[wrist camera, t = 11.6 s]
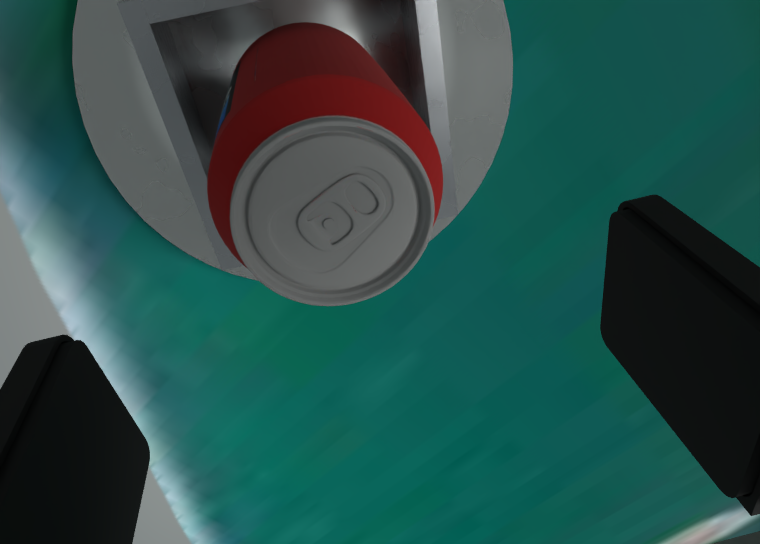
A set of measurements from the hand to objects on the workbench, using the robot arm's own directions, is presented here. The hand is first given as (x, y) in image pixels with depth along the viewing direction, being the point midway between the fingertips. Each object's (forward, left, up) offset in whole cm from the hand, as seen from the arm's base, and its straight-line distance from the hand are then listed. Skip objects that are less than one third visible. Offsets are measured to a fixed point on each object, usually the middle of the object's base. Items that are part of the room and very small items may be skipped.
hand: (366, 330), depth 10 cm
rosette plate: (0, 0, -18) cm, 18 cm away
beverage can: (0, 0, -17) cm, 17 cm away
